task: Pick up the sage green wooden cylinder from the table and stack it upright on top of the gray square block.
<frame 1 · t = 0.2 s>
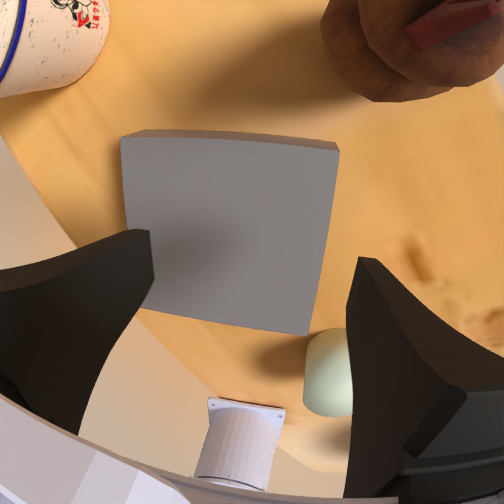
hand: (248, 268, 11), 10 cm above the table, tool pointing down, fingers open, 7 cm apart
wooden figurine: (378, 50, 15), on the table
teacup with lid: (59, 24, 16), on the table
gray square block: (230, 223, 21), on the table
sage cylinder: (336, 350, 25), on the table
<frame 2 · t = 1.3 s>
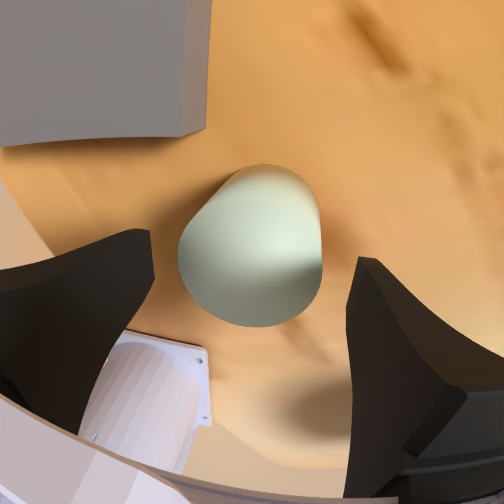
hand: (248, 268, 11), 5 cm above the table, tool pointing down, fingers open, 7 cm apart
gray square block: (99, 21, 12), on the table
sage cylinder: (266, 216, 15), on the table
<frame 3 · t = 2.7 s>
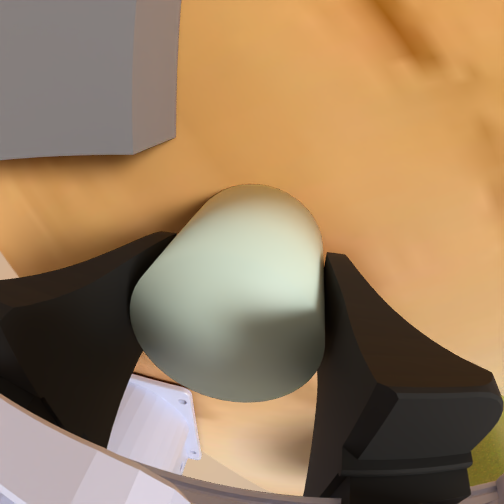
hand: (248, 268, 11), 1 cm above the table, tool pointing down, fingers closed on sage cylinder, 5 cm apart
gray square block: (54, 11, 8), on the table
sage cylinder: (255, 249, 12), on the table, touching gripper
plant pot: (462, 414, 15), on the table
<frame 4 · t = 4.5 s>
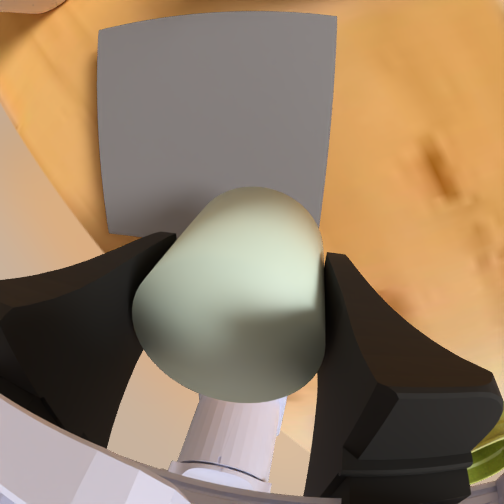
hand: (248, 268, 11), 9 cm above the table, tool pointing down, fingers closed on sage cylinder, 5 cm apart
gray square block: (217, 125, 17), on the table
sage cylinder: (255, 251, 12), point 7 cm above the table, touching gripper
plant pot: (461, 389, 24), on the table
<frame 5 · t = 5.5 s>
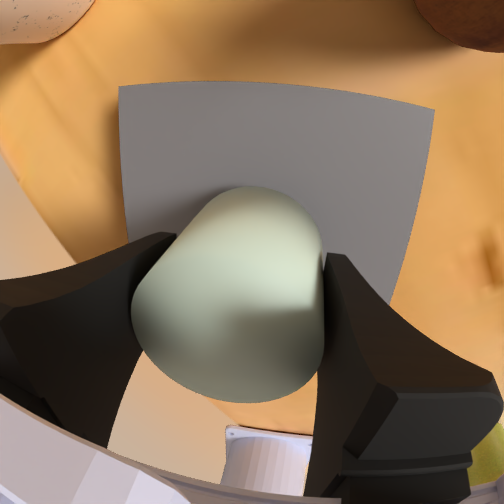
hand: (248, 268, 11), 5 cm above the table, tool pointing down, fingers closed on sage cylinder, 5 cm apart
wooden figurine: (453, 2, 9), on the table
gray square block: (268, 211, 16), on the table
sage cylinder: (255, 251, 12), point 4 cm above the table, touching gripper
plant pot: (475, 434, 22), on the table
when the fingers open (5 cm above the table, at t = 6.3 s): sage cylinder stays where it is, resting on gray square block.
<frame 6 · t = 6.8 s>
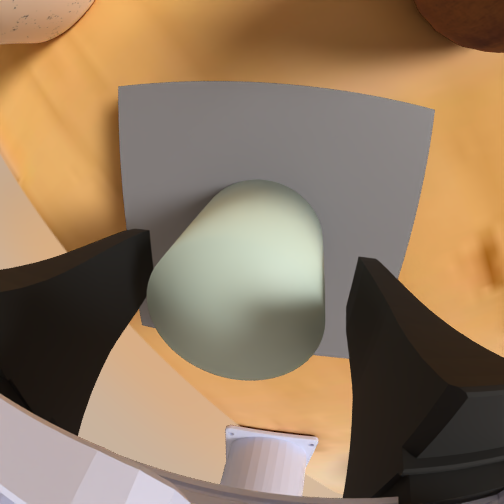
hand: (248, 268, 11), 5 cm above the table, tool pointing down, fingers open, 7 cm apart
wooden figurine: (453, 2, 9), on the table
gray square block: (268, 211, 16), on the table
sage cylinder: (259, 240, 13), point 3 cm above the table, touching gray square block
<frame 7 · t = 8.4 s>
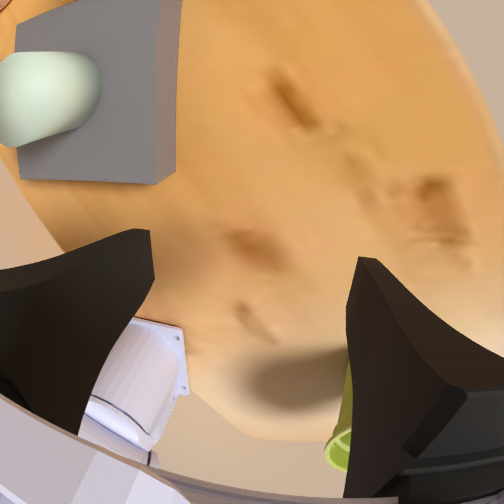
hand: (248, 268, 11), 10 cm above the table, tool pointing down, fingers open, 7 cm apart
gray square block: (97, 86, 18), on the table
sage cylinder: (70, 90, 15), point 3 cm above the table, touching gray square block
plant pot: (380, 360, 25), on the table
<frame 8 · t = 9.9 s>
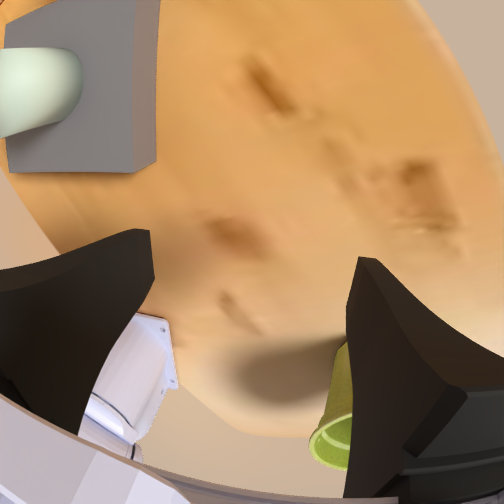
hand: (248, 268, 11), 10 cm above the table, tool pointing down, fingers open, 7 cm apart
gray square block: (82, 80, 18), on the table
sage cylinder: (55, 84, 15), point 3 cm above the table, touching gray square block
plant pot: (370, 353, 25), on the table
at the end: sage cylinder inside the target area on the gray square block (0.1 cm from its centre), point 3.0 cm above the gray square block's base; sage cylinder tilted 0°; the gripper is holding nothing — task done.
